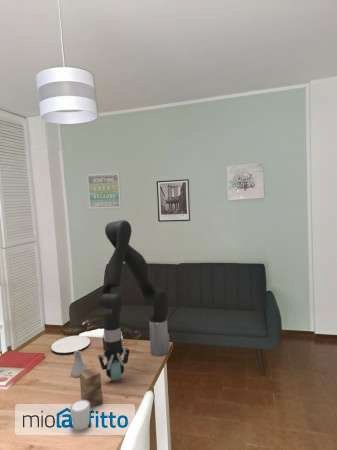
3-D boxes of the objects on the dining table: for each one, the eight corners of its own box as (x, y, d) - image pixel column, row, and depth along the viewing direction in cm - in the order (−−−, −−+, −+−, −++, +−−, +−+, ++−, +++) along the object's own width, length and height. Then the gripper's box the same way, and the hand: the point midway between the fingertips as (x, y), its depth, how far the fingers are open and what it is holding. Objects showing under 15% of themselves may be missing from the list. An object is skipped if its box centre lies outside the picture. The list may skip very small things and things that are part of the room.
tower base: (98, 394, 127) (97, 380, 127) (102, 404, 121) (101, 389, 121) (81, 399, 124) (80, 385, 124) (84, 409, 118) (83, 394, 118)
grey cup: (73, 418, 113) (72, 400, 113) (92, 416, 114) (91, 398, 113) (69, 432, 107) (67, 412, 106) (89, 430, 107) (88, 410, 107)
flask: (82, 378, 140) (81, 357, 139) (67, 377, 141) (66, 356, 140) (89, 369, 147) (88, 349, 146) (75, 368, 148) (74, 348, 147)
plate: (84, 355, 162) (84, 351, 162) (44, 356, 162) (44, 353, 162) (94, 338, 183) (94, 334, 182) (59, 339, 183) (59, 336, 183)
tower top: (94, 381, 126) (93, 367, 126) (101, 387, 122) (100, 372, 121) (80, 387, 123) (79, 372, 122) (87, 393, 118) (86, 378, 118)
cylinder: (119, 372, 140) (118, 357, 139) (122, 377, 136) (121, 362, 135) (108, 375, 138) (107, 360, 137) (111, 381, 133) (110, 365, 133)
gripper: (125, 330, 142) (128, 366, 143) (94, 338, 136) (97, 375, 137) (131, 336, 135) (133, 374, 136) (98, 345, 129) (101, 384, 130)
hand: (115, 374), depth 137 cm, fingers closed on cylinder, 5 cm apart
